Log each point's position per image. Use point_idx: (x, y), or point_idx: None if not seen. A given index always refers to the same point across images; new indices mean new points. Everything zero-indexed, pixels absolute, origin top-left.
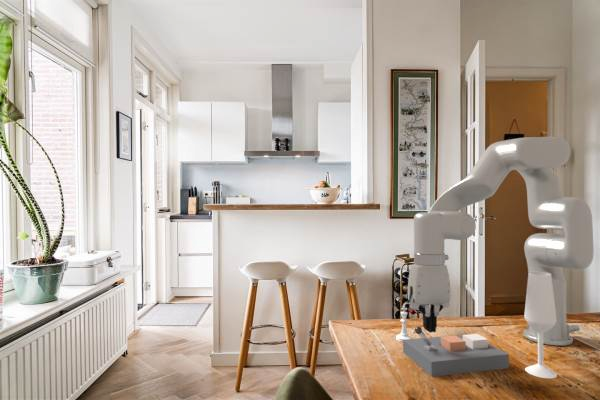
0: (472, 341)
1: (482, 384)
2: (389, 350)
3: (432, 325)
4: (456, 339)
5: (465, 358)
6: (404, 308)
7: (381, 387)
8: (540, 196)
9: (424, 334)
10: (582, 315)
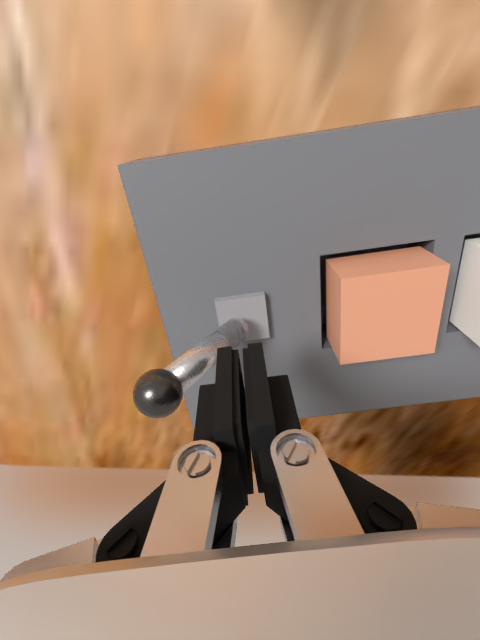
0: (476, 341)
1: (330, 435)
2: (60, 115)
3: (249, 441)
4: (405, 327)
5: (342, 412)
6: None
7: (26, 438)
8: None
9: (203, 373)
10: None
